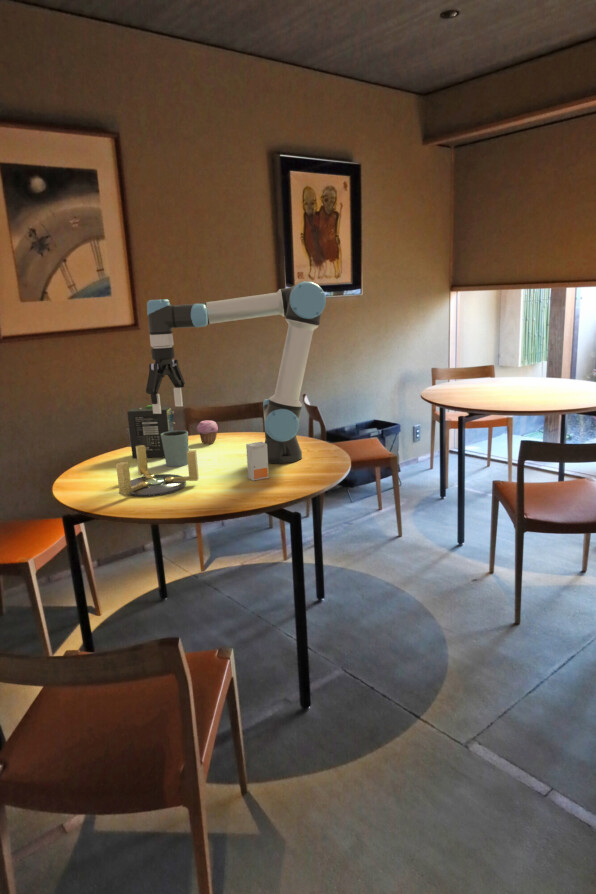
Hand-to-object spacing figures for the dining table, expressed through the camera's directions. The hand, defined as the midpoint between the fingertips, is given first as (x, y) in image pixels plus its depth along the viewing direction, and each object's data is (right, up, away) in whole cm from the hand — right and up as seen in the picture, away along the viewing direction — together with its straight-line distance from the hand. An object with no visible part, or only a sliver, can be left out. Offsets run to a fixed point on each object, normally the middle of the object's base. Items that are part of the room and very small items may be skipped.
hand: (168, 409), depth 208 cm
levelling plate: (-3, -26, -7) cm, 27 cm away
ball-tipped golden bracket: (-7, -26, -15) cm, 31 cm away
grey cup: (-1, -19, +21) cm, 28 cm away
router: (-13, -16, +36) cm, 41 cm away
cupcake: (+6, -11, +53) cm, 54 cm away
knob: (-7, -23, 0) cm, 24 cm away
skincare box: (+31, -23, -3) cm, 39 cm away
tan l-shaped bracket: (+6, -24, -8) cm, 26 cm away
